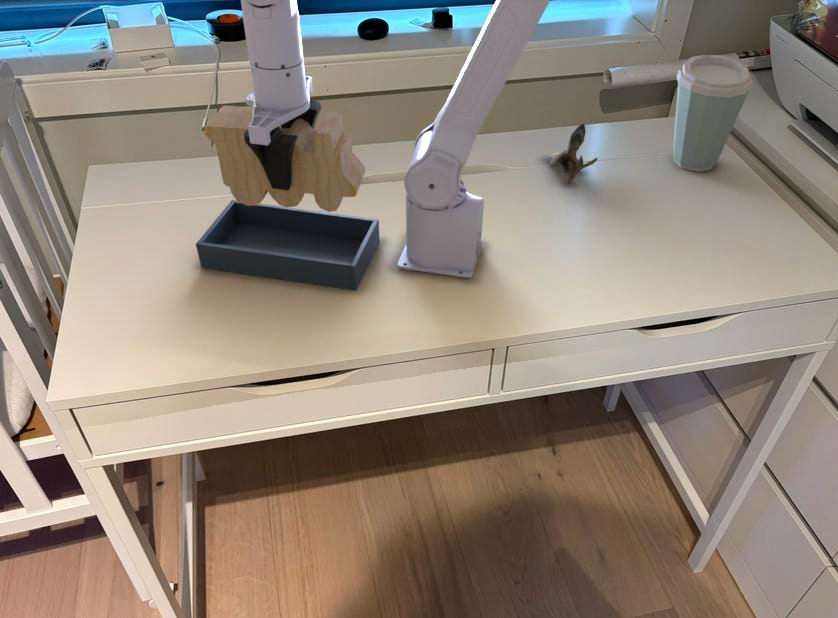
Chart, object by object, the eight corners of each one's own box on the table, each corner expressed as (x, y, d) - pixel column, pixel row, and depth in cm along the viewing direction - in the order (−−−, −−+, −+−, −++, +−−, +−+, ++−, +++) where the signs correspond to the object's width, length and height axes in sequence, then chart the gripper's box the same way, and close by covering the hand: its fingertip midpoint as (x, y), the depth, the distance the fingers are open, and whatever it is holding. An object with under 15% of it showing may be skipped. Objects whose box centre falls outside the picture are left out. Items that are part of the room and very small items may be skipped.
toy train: (358, 214, 87) (353, 135, 80) (218, 203, 88) (202, 124, 81) (366, 191, 91) (362, 114, 84) (233, 180, 92) (218, 103, 85)
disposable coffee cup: (737, 178, 111) (769, 80, 101) (669, 180, 110) (695, 81, 100) (711, 146, 119) (738, 52, 109) (647, 147, 118) (669, 53, 107)
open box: (379, 242, 95) (378, 219, 92) (356, 290, 87) (354, 266, 85) (236, 222, 97) (231, 199, 95) (201, 268, 89) (195, 243, 87)
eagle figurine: (607, 177, 107) (594, 139, 113) (590, 144, 102) (577, 106, 107) (560, 200, 110) (549, 162, 115) (541, 169, 105) (530, 130, 110)
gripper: (266, 33, 84) (281, 144, 93) (212, 81, 73) (234, 200, 82) (325, 40, 83) (334, 150, 92) (278, 88, 72) (294, 208, 81)
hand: (291, 174), depth 87 cm, fingers closed on toy train, 6 cm apart
